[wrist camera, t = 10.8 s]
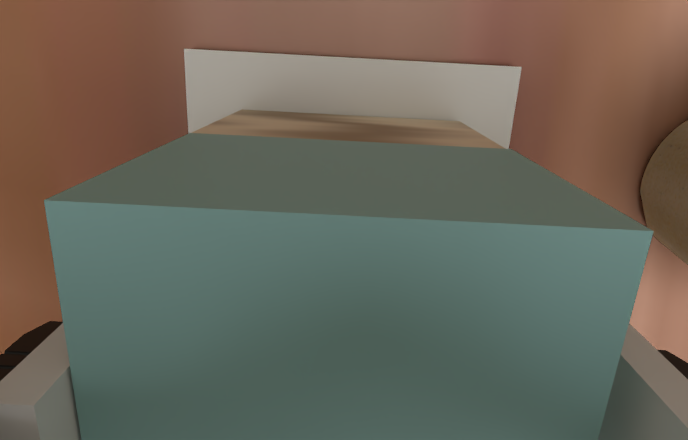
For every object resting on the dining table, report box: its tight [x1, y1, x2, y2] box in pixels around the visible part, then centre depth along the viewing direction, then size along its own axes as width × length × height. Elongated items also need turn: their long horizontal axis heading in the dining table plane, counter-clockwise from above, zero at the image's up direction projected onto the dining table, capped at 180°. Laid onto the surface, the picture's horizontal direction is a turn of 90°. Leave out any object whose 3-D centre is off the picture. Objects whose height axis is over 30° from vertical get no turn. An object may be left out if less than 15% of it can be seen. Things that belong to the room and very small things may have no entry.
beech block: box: [192, 109, 505, 149], centre depth 16 cm, size 8×8×6 cm
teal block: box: [44, 133, 654, 440], centre depth 10 cm, size 8×8×6 cm
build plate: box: [184, 49, 522, 149], centre depth 20 cm, size 12×12×1 cm
